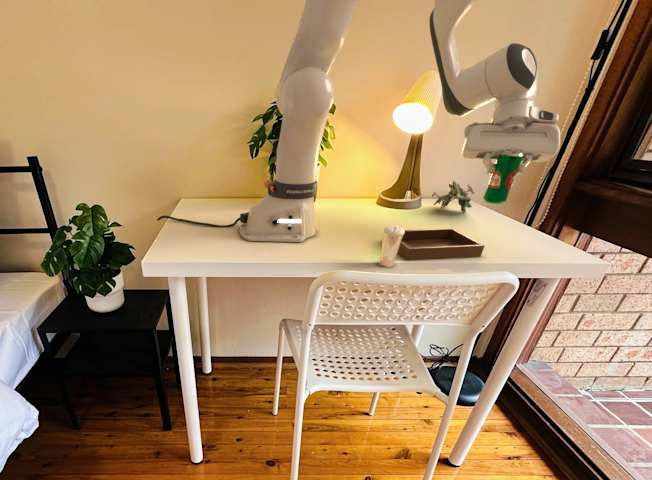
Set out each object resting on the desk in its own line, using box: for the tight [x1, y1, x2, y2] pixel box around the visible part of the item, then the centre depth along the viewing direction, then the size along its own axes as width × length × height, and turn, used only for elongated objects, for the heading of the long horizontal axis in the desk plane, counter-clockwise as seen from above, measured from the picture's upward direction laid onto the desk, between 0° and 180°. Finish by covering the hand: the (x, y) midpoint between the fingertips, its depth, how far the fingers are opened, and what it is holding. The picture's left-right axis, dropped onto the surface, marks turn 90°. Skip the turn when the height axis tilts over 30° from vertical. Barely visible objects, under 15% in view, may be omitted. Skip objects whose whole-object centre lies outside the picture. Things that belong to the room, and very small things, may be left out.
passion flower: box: [431, 180, 475, 214], centre depth 124 cm, size 11×11×12 cm
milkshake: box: [378, 225, 405, 268], centre depth 86 cm, size 4×5×10 cm
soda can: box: [482, 149, 523, 205], centre depth 92 cm, size 5×5×12 cm
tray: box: [397, 227, 486, 261], centre depth 97 cm, size 20×14×3 cm
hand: (505, 173), depth 91 cm, fingers closed on soda can, 5 cm apart
